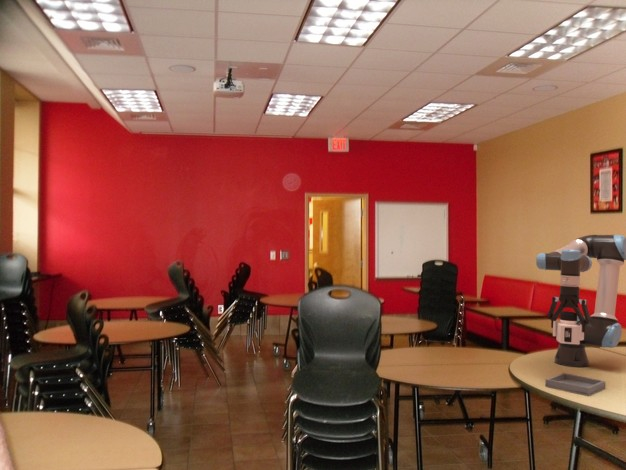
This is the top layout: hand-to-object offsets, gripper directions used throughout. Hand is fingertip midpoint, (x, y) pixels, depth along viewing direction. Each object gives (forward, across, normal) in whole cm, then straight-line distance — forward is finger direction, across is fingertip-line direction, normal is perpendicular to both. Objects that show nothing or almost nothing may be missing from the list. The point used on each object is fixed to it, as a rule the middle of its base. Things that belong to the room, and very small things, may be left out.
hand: (568, 338), depth 234 cm
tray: (+19, +6, -5) cm, 20 cm away
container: (+2, 0, 0) cm, 2 cm away
